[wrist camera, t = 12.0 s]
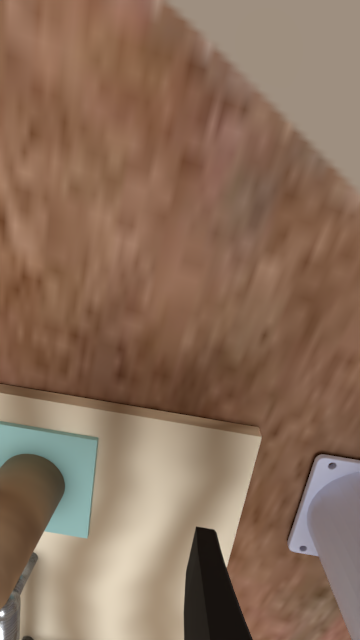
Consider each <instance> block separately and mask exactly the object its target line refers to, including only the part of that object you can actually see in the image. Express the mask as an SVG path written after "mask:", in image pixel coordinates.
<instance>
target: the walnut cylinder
mask: <svg viewBox="0 0 360 640" xmlns="http://www.w3.org/2000/svg"><path fill="white" fill-rule="evenodd" d="M64 491H65V482H64V478H63V476H62V474H61V472H60V470H59V469H58V468H57V467H56V466H55V465H54V464H53V463H52V462H51V461H49V460H48V459H46V458H44V457H41V456H38V455H34V454H19V455H16V456H13V457H11V458H9V459H8V460H7V461H6V462H5V463H4V464H3V465H2V466H1V467H0V609H1V608H2V607H3V606H4V605H5V604H6V602H7V600H8V599H9V597H10V595H11V593H12V591H13V589H14V587H15V585H16V583H17V582H18V580H19V578H20V576H21V574H22V572H23V570H24V568H25V566H26V565H27V563H28V561H29V559H30V557H31V555H32V553H33V551H34V549H35V548H36V546H37V544H38V542H39V540H40V538H41V536H42V534H43V532H44V531H45V529H46V527H47V525H48V523H49V521H50V519H51V517H52V515H53V514H54V512H55V510H56V508H57V506H58V504H59V502H60V500H61V498H62V497H63V494H64Z"/></svg>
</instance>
